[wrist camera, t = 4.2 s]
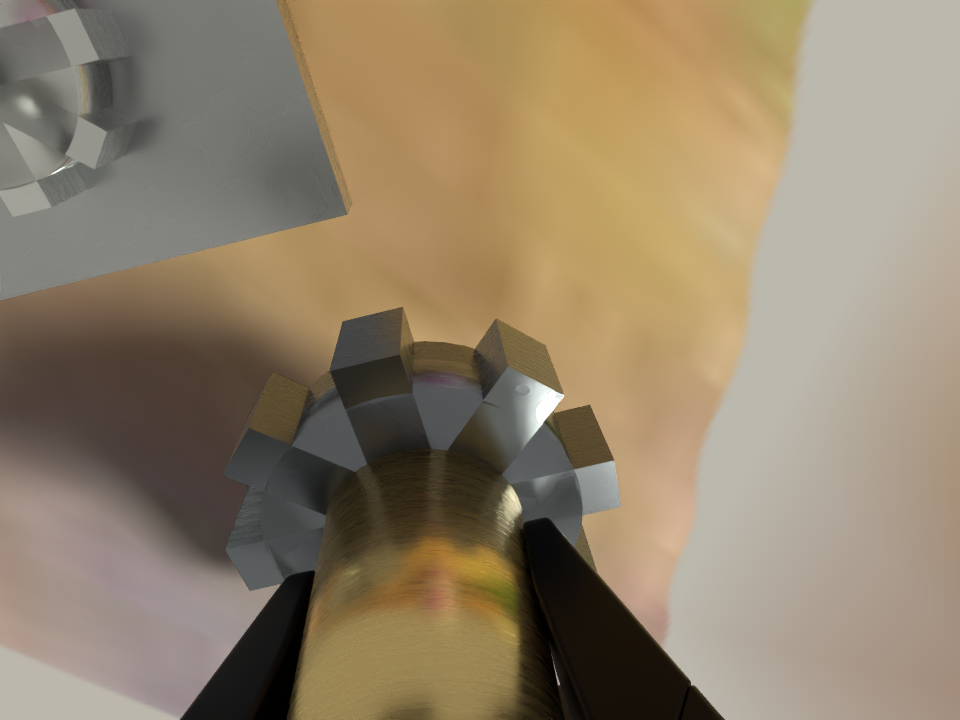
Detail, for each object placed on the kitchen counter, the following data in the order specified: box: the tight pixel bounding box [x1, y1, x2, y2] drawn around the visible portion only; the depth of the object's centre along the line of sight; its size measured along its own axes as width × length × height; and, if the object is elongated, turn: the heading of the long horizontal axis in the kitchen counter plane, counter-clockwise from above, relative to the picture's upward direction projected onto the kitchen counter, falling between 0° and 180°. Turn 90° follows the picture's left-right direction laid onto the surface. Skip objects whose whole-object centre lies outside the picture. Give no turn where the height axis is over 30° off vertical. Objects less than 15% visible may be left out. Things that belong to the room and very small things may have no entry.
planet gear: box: [223, 307, 621, 720], centre depth 9 cm, size 6×6×6 cm
